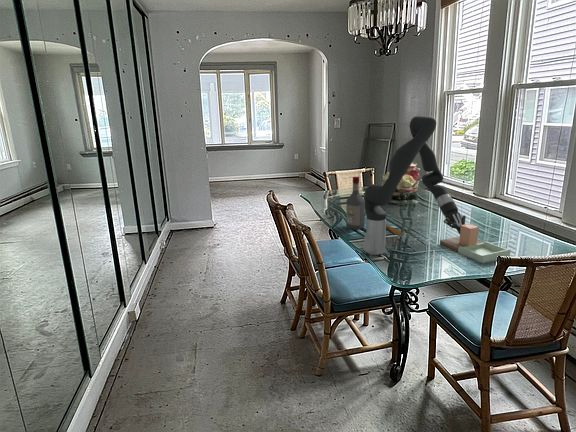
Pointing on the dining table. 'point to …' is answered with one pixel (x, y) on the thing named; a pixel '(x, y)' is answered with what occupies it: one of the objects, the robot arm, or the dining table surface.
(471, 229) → the salmon-coloured block
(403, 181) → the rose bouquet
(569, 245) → the dining table surface
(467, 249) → the tray
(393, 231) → the primitive tool
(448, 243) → the board
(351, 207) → the liquor
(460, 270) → the dining table surface
